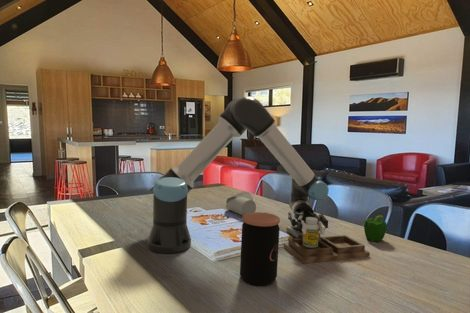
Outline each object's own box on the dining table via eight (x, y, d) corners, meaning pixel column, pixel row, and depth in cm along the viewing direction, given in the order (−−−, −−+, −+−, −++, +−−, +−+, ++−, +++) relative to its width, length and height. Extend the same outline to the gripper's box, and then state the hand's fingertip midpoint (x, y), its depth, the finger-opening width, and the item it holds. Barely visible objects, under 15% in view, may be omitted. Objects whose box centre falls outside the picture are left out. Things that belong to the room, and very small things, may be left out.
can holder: (297, 239, 127) (298, 234, 127) (286, 231, 136) (286, 226, 136) (320, 238, 130) (320, 233, 130) (307, 229, 139) (307, 225, 139)
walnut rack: (303, 263, 105) (303, 253, 105) (283, 247, 118) (284, 237, 118) (369, 256, 113) (370, 247, 113) (344, 242, 126) (345, 233, 126)
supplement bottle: (313, 242, 117) (315, 216, 116) (320, 247, 111) (322, 220, 110) (299, 242, 115) (301, 216, 114) (306, 248, 110) (308, 221, 109)
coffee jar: (275, 289, 88) (278, 225, 86) (236, 284, 90) (239, 220, 88) (277, 272, 98) (281, 214, 96) (243, 267, 100) (245, 210, 98)
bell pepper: (363, 241, 128) (365, 216, 127) (362, 234, 136) (364, 211, 135) (386, 244, 125) (388, 219, 124) (384, 238, 133) (386, 214, 132)
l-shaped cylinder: (215, 206, 167) (237, 216, 151) (219, 186, 167) (243, 194, 151) (242, 209, 178) (265, 219, 161) (246, 191, 178) (270, 198, 162)
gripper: (325, 222, 131) (341, 243, 107) (279, 219, 131) (285, 240, 108) (326, 203, 130) (343, 221, 107) (280, 201, 130) (287, 218, 107)
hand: (314, 230), depth 107 cm, fingers closed on supplement bottle, 5 cm apart
